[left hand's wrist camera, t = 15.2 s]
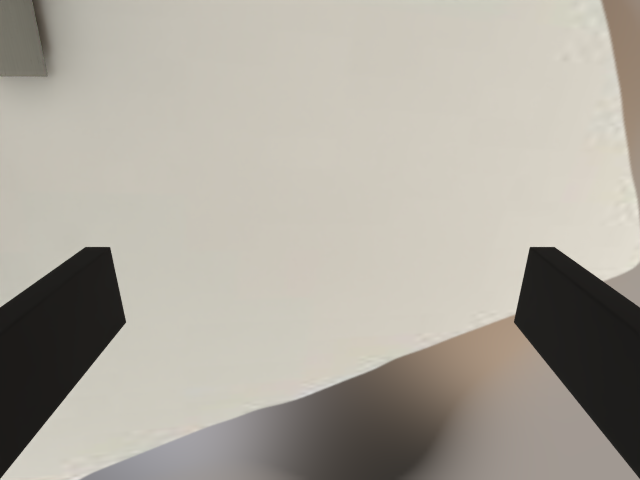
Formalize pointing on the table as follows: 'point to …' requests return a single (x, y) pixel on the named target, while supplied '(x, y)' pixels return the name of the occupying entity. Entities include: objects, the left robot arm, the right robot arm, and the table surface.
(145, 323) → the table surface
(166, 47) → the table surface
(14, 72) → the bar
